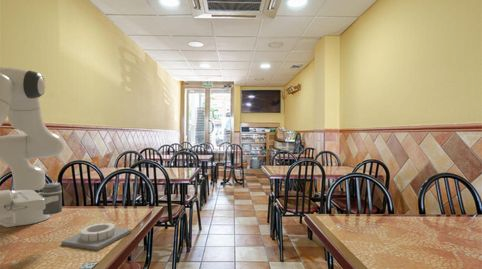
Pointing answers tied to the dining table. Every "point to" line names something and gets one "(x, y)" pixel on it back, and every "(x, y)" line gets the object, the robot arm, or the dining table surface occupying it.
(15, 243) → the dining table surface
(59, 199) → the lens
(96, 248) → the mount
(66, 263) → the dining table surface
